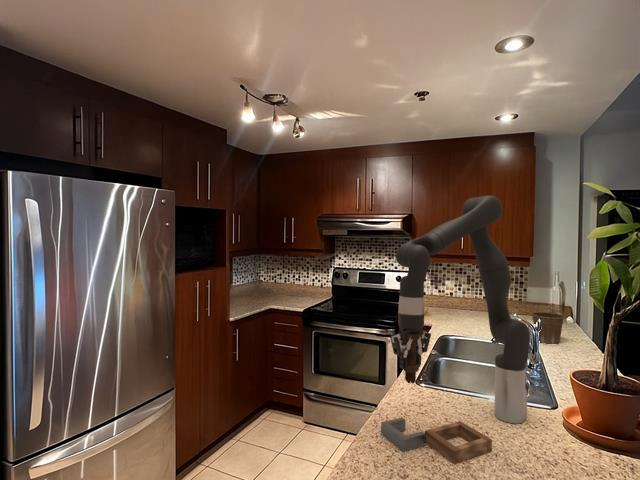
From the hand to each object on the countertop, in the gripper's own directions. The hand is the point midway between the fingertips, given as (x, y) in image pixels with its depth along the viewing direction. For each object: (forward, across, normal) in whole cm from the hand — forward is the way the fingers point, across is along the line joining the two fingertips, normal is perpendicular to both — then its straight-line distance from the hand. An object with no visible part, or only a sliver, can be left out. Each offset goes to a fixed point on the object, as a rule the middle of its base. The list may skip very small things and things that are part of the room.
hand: (410, 367), depth 117 cm
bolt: (+4, 0, 0) cm, 4 cm away
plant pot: (+20, -136, -48) cm, 146 cm away
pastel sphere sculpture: (+22, -113, -136) cm, 179 cm away
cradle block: (+22, +2, -1) cm, 22 cm away
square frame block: (+22, -10, +9) cm, 26 cm away
